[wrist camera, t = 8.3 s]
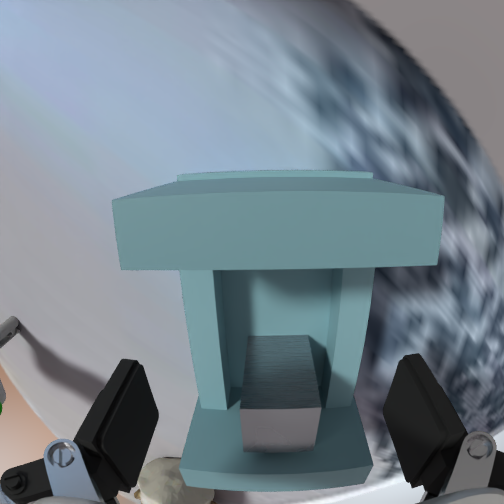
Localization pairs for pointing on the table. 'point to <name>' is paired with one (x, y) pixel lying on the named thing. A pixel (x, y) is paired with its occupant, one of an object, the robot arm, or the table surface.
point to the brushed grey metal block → (279, 395)
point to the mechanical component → (3, 335)
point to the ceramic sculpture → (169, 485)
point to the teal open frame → (276, 299)
